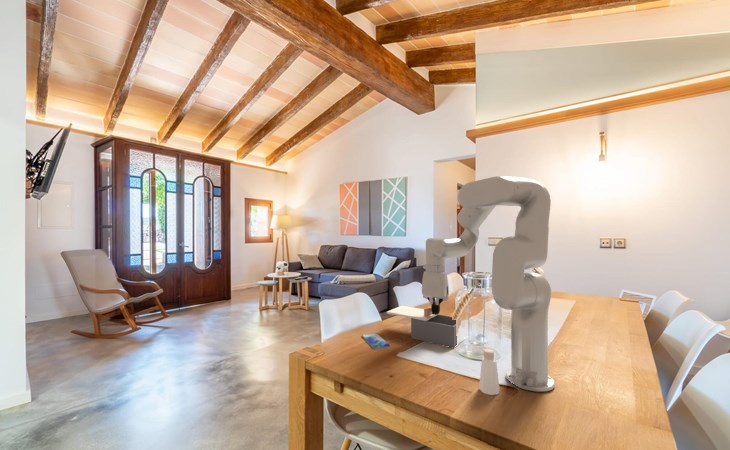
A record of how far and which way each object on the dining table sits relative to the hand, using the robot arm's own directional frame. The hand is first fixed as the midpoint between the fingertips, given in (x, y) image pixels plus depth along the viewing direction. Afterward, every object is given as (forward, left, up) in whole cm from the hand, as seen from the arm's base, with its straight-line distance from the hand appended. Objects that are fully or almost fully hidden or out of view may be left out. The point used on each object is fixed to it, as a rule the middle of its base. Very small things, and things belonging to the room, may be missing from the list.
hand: (435, 313), depth 128 cm
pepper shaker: (-29, -29, -10) cm, 42 cm away
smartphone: (-17, +18, -10) cm, 27 cm away
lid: (0, +10, -2) cm, 11 cm away
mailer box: (0, -1, -10) cm, 10 cm away
